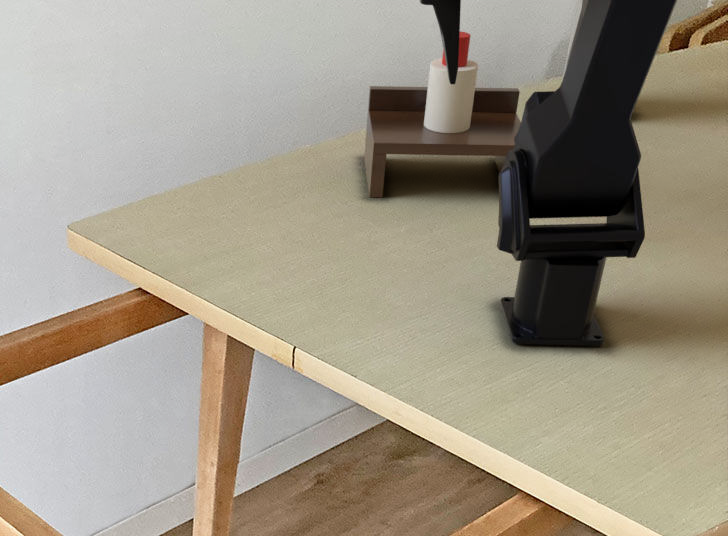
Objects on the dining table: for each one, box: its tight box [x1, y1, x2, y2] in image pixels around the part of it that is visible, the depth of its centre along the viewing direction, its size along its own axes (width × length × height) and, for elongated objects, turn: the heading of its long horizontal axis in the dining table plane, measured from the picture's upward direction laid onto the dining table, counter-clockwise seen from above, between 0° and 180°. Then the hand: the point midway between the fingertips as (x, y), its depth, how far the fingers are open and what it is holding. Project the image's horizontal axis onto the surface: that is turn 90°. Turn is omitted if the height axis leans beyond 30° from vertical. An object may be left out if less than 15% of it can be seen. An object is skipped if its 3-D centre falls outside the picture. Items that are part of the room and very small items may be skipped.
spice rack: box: [363, 85, 521, 198], centre depth 100 cm, size 10×14×7 cm
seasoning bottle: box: [424, 31, 479, 133], centre depth 97 cm, size 4×4×8 cm
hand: (509, 83), depth 86 cm, fingers open, 9 cm apart
